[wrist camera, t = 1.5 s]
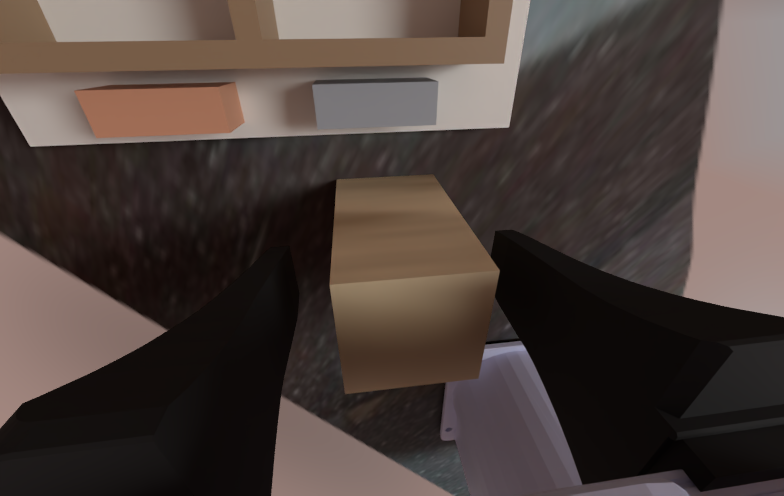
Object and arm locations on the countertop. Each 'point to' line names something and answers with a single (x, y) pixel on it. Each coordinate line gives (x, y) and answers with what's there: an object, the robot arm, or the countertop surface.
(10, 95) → the socket board
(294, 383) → the countertop surface
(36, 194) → the countertop surface
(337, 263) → the maple peg
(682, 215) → the countertop surface
